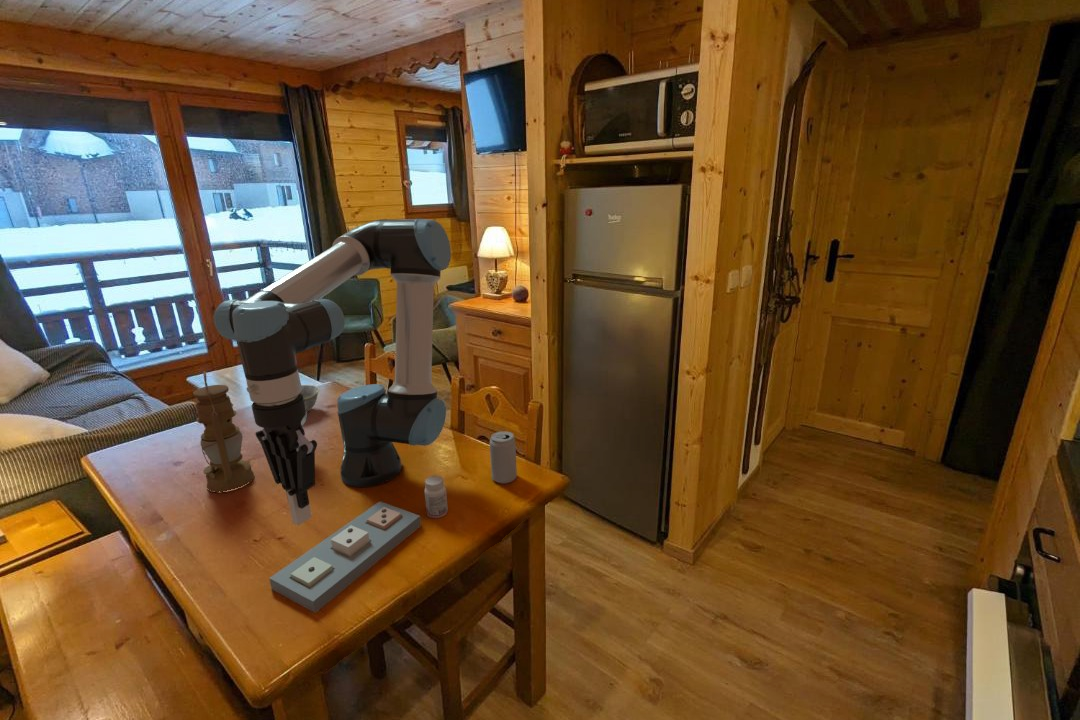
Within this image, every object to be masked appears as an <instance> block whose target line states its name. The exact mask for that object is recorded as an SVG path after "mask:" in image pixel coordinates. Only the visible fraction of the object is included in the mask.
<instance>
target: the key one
mask: <svg viewBox="0 0 1080 720" xmlns="http://www.w3.org/2000/svg"><path fill="white" fill-rule="evenodd" d="M331 571H333V568H332V565H330V564H328V563H326V562H324V561H322V560H320V559H318V558H315V557H313V558H312V559H311V560H309V561H308V562H306V563H305V564H304V565H302V566H301V567H299V568H298V569H297V570H295V571H294V572H292V573H291V578H292V580H294V581H296V582H298V583H300V584H302V585H303V586H305V587H307V588H310V587H312V586H313V585H314V584H316V583H317V582H318V581H320V580H321V579H322V578H323V577H325V576H326V575H327V574H329V573H330V572H331Z"/></svg>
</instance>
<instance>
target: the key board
mask: <svg viewBox="0 0 1080 720" xmlns="http://www.w3.org/2000/svg"><path fill="white" fill-rule="evenodd" d="M383 507H385V508H388V509H391V510H394V511H396V512H399V513H401V518H400V519H399V520H398V521H396V522H395V523H394V524H392V525H391V526H390V527H388V528H387V529H386V530H385V531H384V530H381V529H379V528H376V527H374V526H371V525H369V524H367V519H368V518H369V517H371V516H372V515H374V514H375V513H376V512H378V511H379V510H381V509H382V508H383ZM421 520H422V519H421V515H419V514H416V513H413V512H410V511H408V510H405V509H403V508H399V507H397V506H394V505H391V504H389V503H385V502H383V501H378V502H377V503H375V504H373V505H372V506H371V507H369V508H368V509H366V510H365V511H364V512H363V513H361V514H359V515H358V516H356V517H355V518H354V519H352V520H351V521H349V522H348V523H346V524H345V525H343V526H342V527H341V528H339V529H338V530H336V531H335V532H334V533H332V534H331V535H329V536H328V537H326V538H325V539H323V540H322V541H321V542H319V543H318V544H316V545H315V546H314V547H312V548H310V549H309V550H307V551H306V552H304V553H303V554H302V555H300V556H299V557H297V558H296V559H295V560H293V561H291V562H290V563H288V564H287V565H286V566H285V567H283V568H282V569H280V570H278V571H277V572H276V573H274V574H273V575H271V576H270V577H269V578H268V579H269V583H270V587H271V590H273V591H274V592H276V593H278V594H280V595H281V596H283V597H285V598H287V599H289V600H291V601H292V602H294V603H296V604H298V605H300V606H301V607H304V608H305V609H307V610H309V611H311V612H313V613H315V614H316V613H317V612H319V610H321V609H322V608H324V606H326V605H327V604H328V603H329V602H330V601H332V600H333V599H334V598H335V597H337V596H338V595H339V594H340V593H341V592H343V591H344V590H346V588H347V587H349V586H350V585H351V584H352V583H353V582H355V581H356V580H357V579H359V578H360V577H361V576H362V575H364V574H365V573H366V572H368V571H369V569H370V568H372V567H373V566H374V565H375V564H377V563H378V562H379V561H380V560H382V559H383V558H384V557H385V556H386V555H387V554H389V553H390V552H391V551H393V549H395V548H396V547H398V545H400V544H401V543H402V542H403V541H404V540H406V538H408V537H409V536H410V535H411V534H413V533H414V532H415V531H416V530H417V529H419V528H420V527H421V526H422V523H421ZM351 525H352V526H354V527H356V528H359V529H361V530H364V531H366V532H368V533H369V540H370V542H369V543H368V544H366V545H365V546H364V547H362V548H361V549H360V550H359V551H357V552H356V553H355V554H353V555H352V556H351V557H348V556H346V555H343V554H341V553H339V552H337V551H335V550H332V544H331V539H332V538H333V537H335V536H336V535H338V534H339V533H341V532H342V531H343V530H345V529H346V528H348V527H349V526H351ZM313 557H315V558H318V559H320V560H322V561H324V562H326V563H328V564H330V565H332V568H333V571H331V572H330V573H329V574H327V575H326V576H325V577H323V578H322V579H321V580H320V581H318V582H317V583H316V584H314V585H313V586H312V587H310V588H307V587H305V586H303V585H302V584H300V583H298V582H296V581H294V580H292V578H291V573H292V572H294V571H295V570H297V569H298V568H299V567H301V566H302V565H304V564H305V563H306V562H308V561H309V560H311V559H312V558H313Z"/></svg>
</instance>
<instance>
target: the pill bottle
mask: <svg viewBox="0 0 1080 720" xmlns="http://www.w3.org/2000/svg"><path fill="white" fill-rule="evenodd" d="M424 483H425V484H424V485H425V487H424V499H425V501H424V502H425V509H426V514H427V516H428V517H430V518H435V519H437V518H441V517H444V516H445V515H446V514H448V511H449V507H448V498H447V487H446V485H445V483H444V478H443V477H442V476H441V475H438V474H437V475H436V474H435V475H431V476H428V477H427V478H426V479H425V480H424Z"/></svg>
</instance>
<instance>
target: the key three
mask: <svg viewBox="0 0 1080 720" xmlns="http://www.w3.org/2000/svg"><path fill="white" fill-rule="evenodd" d="M400 518H401V513H399V512H396V511H394V510H391V509H388V508H385V507H383V508H382V509H381V510H379V511H378V512H376V513H375V514H374V515H372V516H371V517H369V518H368V519H367V524H369V525H371V526H374V527H376V528H379V529H381V530H384V531H385V530H386V529H387V528H388V527H390V526H391V525H392V524H394V523H395V522H396V521H398V520H399V519H400Z"/></svg>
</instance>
